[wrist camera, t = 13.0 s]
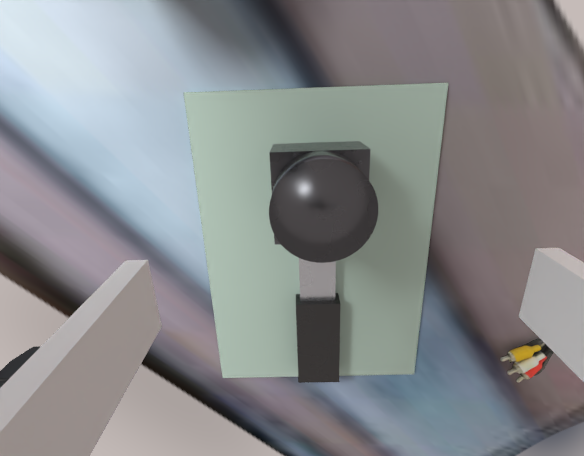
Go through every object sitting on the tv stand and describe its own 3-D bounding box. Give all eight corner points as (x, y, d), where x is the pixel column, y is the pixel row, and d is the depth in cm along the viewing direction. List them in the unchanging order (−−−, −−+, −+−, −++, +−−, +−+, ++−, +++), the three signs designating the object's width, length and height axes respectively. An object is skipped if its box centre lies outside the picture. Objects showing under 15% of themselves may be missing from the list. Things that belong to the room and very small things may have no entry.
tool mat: (185, 92, 27) (183, 92, 26) (446, 82, 26) (448, 82, 26) (223, 375, 37) (222, 377, 36) (412, 371, 36) (414, 374, 36)
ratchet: (277, 143, 28) (274, 153, 23) (353, 140, 28) (364, 150, 23) (288, 369, 36) (287, 410, 31) (346, 367, 36) (354, 409, 31)
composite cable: (582, 298, 33) (604, 313, 31) (601, 330, 35) (622, 347, 32) (489, 349, 36) (502, 366, 33) (509, 377, 37) (524, 396, 35)
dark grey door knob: (273, 143, 26) (265, 160, 19) (359, 140, 26) (381, 156, 19) (277, 224, 28) (271, 264, 21) (356, 222, 28) (375, 261, 21)
